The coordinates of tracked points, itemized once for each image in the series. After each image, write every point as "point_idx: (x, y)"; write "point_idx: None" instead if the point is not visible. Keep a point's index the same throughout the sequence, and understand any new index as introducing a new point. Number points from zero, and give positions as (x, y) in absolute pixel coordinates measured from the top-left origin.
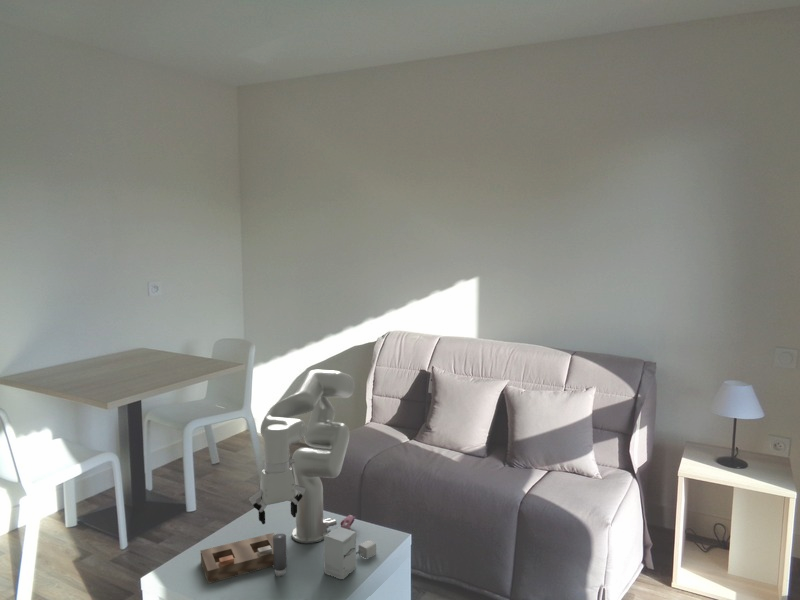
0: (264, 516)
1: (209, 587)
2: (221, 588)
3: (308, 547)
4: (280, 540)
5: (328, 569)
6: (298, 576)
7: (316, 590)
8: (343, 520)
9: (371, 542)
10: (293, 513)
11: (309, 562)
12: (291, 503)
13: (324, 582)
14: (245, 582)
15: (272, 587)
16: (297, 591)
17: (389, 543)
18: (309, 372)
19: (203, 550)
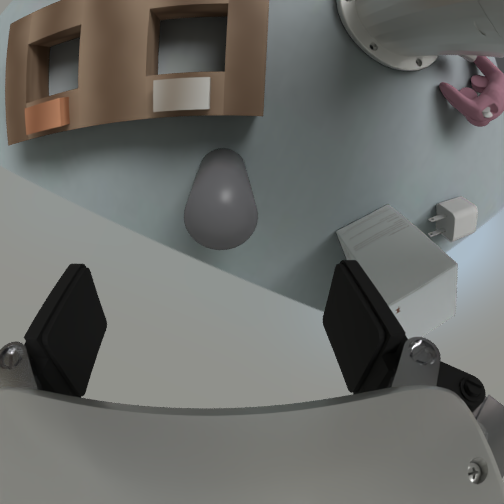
0: (88, 370)
1: (32, 156)
2: (56, 172)
3: (361, 74)
4: (216, 248)
5: (345, 251)
6: (267, 208)
7: (282, 284)
8: (485, 60)
9: (473, 225)
10: (331, 342)
11: (327, 155)
12: (370, 357)
13: (314, 264)
14: (112, 168)
15: (180, 225)
16: (238, 269)
17: (492, 197)
18: None
19: (16, 23)
